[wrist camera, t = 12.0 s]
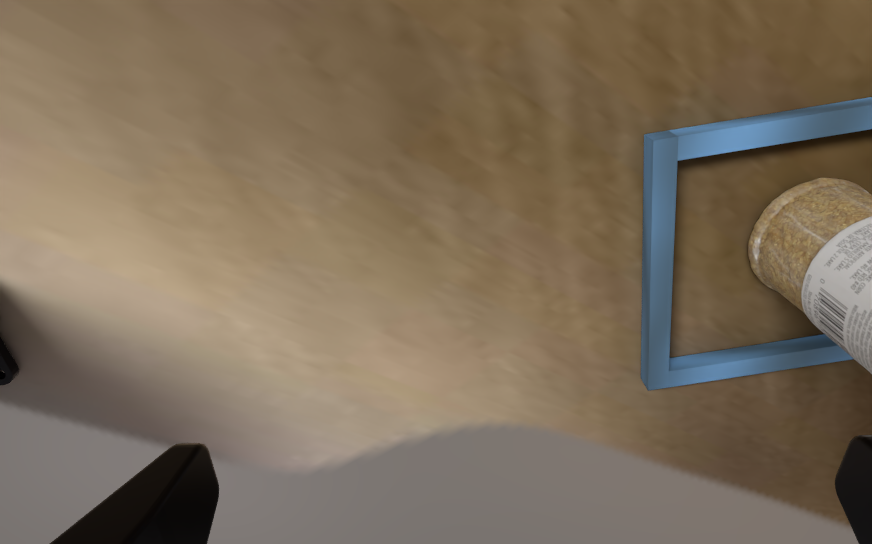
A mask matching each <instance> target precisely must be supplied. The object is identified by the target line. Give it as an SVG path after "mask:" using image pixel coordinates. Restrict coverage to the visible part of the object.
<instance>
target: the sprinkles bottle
mask: <svg viewBox="0 0 872 544" xmlns="http://www.w3.org/2000/svg"><path fill="white" fill-rule="evenodd" d="M748 255H749V260H750V264H751V268H752V270H753V272H754V273H755V275H756V276H757V277H758V278H759V279H760V281H761V282H762V283H763V284H765V285H766V286H768V287H769V288H771V289H773V290H775V291H777V292H779V293H780V294H781V295H783V296H784V297H785V298H786V299H787V300H788V301H790V302H791V303H792V304H793V305H795V306H796V307H798V308H799V309H800V310H801V311H802V312H803V313H805V314H806V315H807V317H808V318H809V320H810V321H811V322H812V323H813V324H814V325H815V326H816V327H817V328H818V329H819V330H821V331H822V332H823V333H824V334H825V335H826V336H828V337H829V338H830V339H831V340H832V341H833V342H835V343H836V344H837V345H838V346H839V347H841V348H842V349H843V350H844V351H845V352H846V353H848V354H849V355H850V356H851V357H852V358H854V359H855V360H856V361H857V362H858V363H860V364H861V365H862V366H863V367H864V368H865V369H867V370H868V371H869V372H870V373H871V374H872V195H871V194H869V193H868V192H867V191H866V190H865V189H863V188H862V187H860V186H859V185H857V184H855V183H852V182H850V181H847V180H843V179H836V178H818V179H815V180H812V181H809V182H806V183H802V184H799V185H797V186H795V187H793V188H791V189H789V190H787V191H785V192H784V193H783V194H781V195H780V196H779V197H778V198H776V199H774V200H773V201H772V202H771V203H770V204H769V205H768V206H767V208H766V209H765V210H764V211H763V213H762V214H761V216H760V218H759V219H758V221H757V222H756V223H755V225H754V229H753V231H752V233H751V236H750V239H749V242H748Z"/></svg>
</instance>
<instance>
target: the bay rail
mask: <svg viewBox="0 0 872 544" xmlns="http://www.w3.org/2000/svg"><path fill="white" fill-rule="evenodd" d="M869 129H872V97H869V98H863V99H857V100H851V101H845V102H839V103H832V104H826V105H820V106H814V107H808V108H802V109H796V110H790V111H784V112H778V113H772V114H766V115H759V116H753V117H747V118H741V119H735V120H729V121H723V122H717V123H711V124H705V125H699V126H692V127H686V128H680V129H674V130H668V131H662V132H656V133H650V134H644V186H643V259H642V331H641V379H642V381H643V383H644V384H645V386H646V388H647V389H648V391H649V390H655V389H662V388H668V387H675V386H681V385H688V384H694V383H701V382H707V381H714V380H720V379H727V378H734V377H740V376H747V375H753V374H760V373H766V372H773V371H779V370H786V369H792V368H799V367H805V366H812V365H818V364H825V363H832V362H838V361H845V360H851V359H854V358H852V357H851V356H850V355H849V354H848V353H846V352H845V351H844V350H843V349H842V348H841V347H839V346H838V345H837V344H836V343H835V342H833V341H832V340H831V339H830V338H829V337H828V336H826V335H825V334H823V335H816V336H810V337H803V338H797V339H790V340H784V341H777V342H771V343H764V344H758V345H752V346H745V347H739V348H732V349H726V350H719V351H713V352H706V353H700V354H693V355H687V356H680V357H674V358H669V354H670V330H671V306H672V282H673V257H674V233H675V209H676V185H677V161H679V160H685V159H691V158H697V157H704V156H710V155H716V154H722V153H728V152H734V151H740V150H746V149H753V148H759V147H765V146H771V145H777V144H783V143H789V142H796V141H802V140H808V139H814V138H820V137H826V136H832V135H839V134H845V133H851V132H857V131H863V130H869Z"/></svg>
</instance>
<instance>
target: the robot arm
mask: <svg viewBox="0 0 872 544" xmlns="http://www.w3.org/2000/svg"><path fill="white" fill-rule="evenodd" d="M0 369H1V370H3V371H4V372H5V373H4V372H2V371H0V385H5V384H8V383H10V382H11V381H12V380H13V379H14V378H15V377H16V375H17V374H18V373H19V368H18V365H17V364H16V362H15V360H14V359H13V357H12V355H11V354H10V352H9V350H8V349H7V347H6V345H5V344H4V342H3V340H2V339H1V337H0ZM835 488H836V492H837V495H838V498H839V500H840V503H841V505H842V507H843V509H844V511H845V514H846V516H847V518H848V520H849V522H850V525H851V527H852V529H853V531H854V533H855V536H856V538H857V540H858V542H859V544H872V435H860V436H856V437H854V438H853V439H852V440H851V441H850V443H849V445H848V447H847V450H846V452H845V455H844V457H843V460H842V462H841V465H840V467H839V469H838V472H837V474H836V478H835ZM218 497H219V485H218V480H217V477H216V474H215V470H214V467H213V464H212V460H211V457H210V454H209V451H208V449H207V447H206V446H205V445H204V444H201V443H188V444H176V445H174V446H172V447H170V448H169V449H168V450H167V451H165V452H164V453H163V454H162V455H160V456H159V457H158V458H157V459H155V460H154V461H153V462H152V463H150V464H149V465H148V466H146V467H145V468H144V469H143V470H142V471H140V472H139V473H138V474H136V475H135V476H134V477H133V478H131V479H130V480H129V481H128V482H127V483H125V484H124V485H123V486H121V487H120V488H119V489H118V490H116V491H115V492H114V493H113V494H112V495H110V496H109V497H108V498H107V499H105V500H104V501H103V502H102V503H100V504H99V505H98V506H96V507H95V508H94V509H93V510H91V511H90V512H89V513H88V514H86V515H85V516H84V517H83V518H81V519H80V520H79V521H78V522H76V523H75V524H74V525H73V526H71V527H70V528H69V529H68V530H66V531H65V532H64V533H63V534H61V535H60V536H59V537H58V538H56V539H55V540H54V541H53V542H51V543H50V544H207V541H208V537H209V534H210V530H211V526H212V522H213V518H214V514H215V510H216V506H217V502H218Z"/></svg>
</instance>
